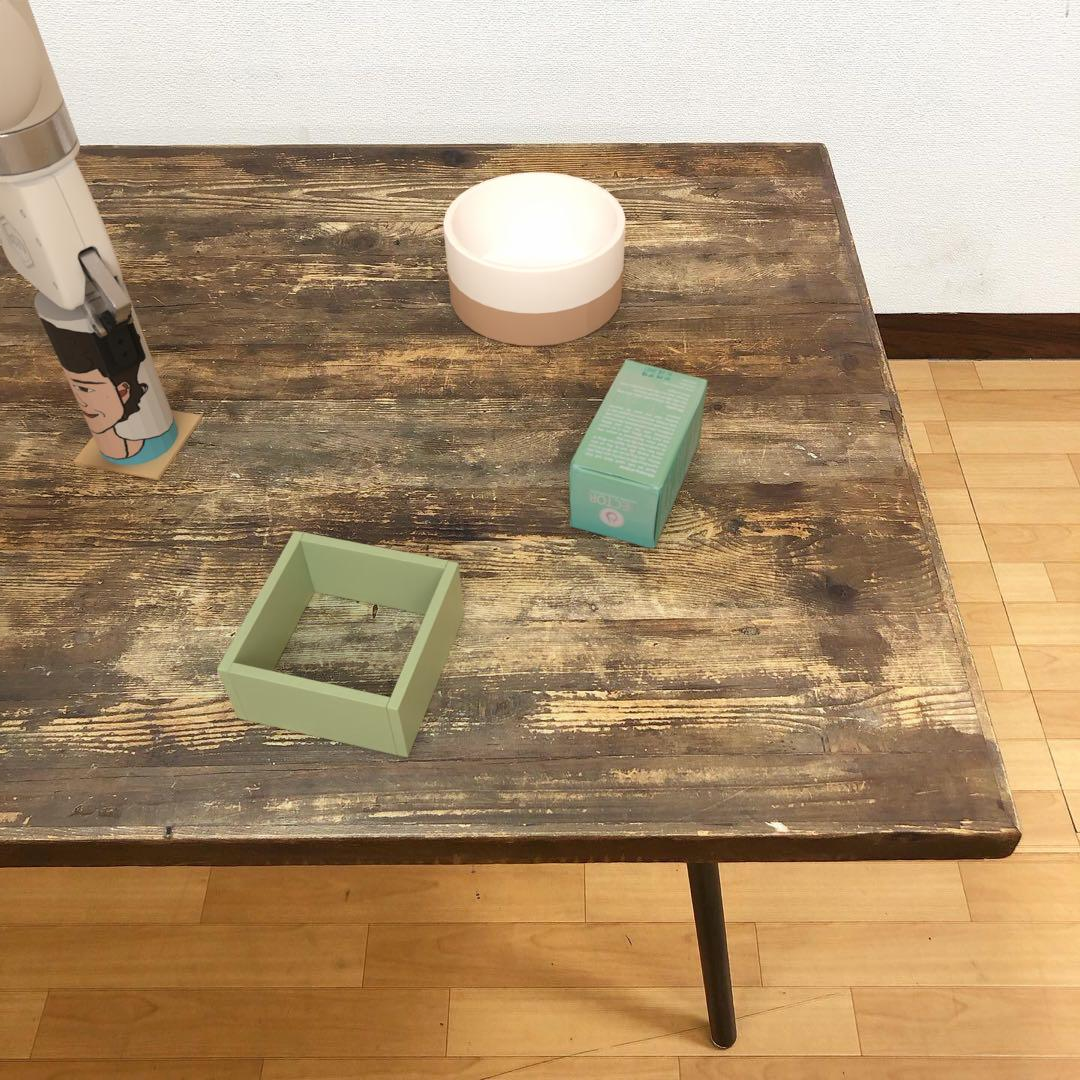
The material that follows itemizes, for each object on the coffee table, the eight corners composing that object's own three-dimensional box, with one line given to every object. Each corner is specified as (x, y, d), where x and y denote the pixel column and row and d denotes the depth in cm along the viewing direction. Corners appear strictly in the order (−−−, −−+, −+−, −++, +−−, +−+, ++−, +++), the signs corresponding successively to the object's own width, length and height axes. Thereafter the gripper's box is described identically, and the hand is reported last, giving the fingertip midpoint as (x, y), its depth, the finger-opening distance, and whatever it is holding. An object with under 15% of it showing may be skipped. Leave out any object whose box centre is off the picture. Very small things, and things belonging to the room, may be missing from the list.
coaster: (74, 464, 91) (73, 461, 91) (122, 404, 97) (120, 400, 96) (158, 480, 90) (157, 477, 90) (202, 418, 95) (201, 415, 95)
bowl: (587, 364, 99) (589, 288, 93) (420, 324, 104) (411, 249, 97) (645, 263, 110) (650, 189, 103) (491, 231, 114) (487, 158, 108)
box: (565, 530, 85) (566, 463, 80) (619, 423, 94) (623, 356, 88) (654, 555, 84) (661, 488, 78) (700, 444, 92) (710, 376, 86)
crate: (237, 718, 74) (216, 669, 70) (308, 582, 82) (294, 530, 78) (408, 758, 72) (397, 709, 68) (464, 614, 80) (458, 562, 76)
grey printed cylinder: (106, 414, 95) (45, 271, 84) (183, 409, 95) (132, 266, 84) (91, 467, 91) (24, 323, 79) (171, 462, 91) (116, 318, 80)
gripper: (-94, 112, 75) (5, 319, 88) (25, 204, 66) (115, 418, 80) (6, 75, 78) (87, 280, 91) (132, 159, 70) (201, 371, 83)
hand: (100, 343), depth 85 cm, fingers open, 7 cm apart
